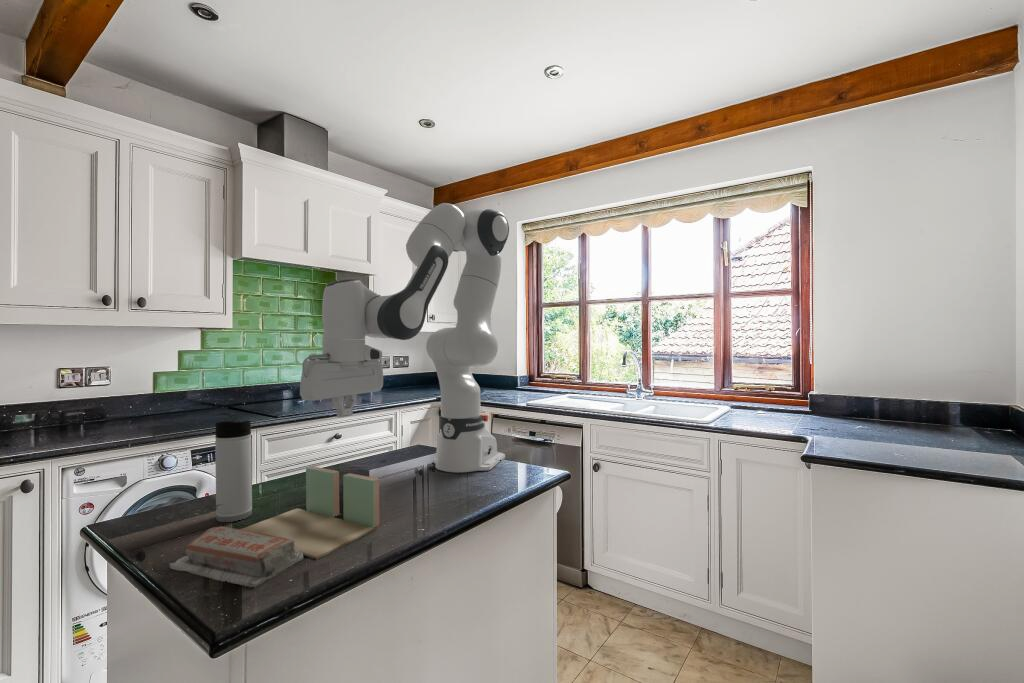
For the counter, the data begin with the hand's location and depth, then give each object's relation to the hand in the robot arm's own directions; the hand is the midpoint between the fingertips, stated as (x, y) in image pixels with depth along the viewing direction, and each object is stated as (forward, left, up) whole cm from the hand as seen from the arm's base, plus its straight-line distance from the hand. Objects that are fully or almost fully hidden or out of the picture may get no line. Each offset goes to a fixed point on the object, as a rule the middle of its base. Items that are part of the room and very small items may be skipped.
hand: (344, 416), depth 102 cm
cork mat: (+14, +5, -19) cm, 24 cm away
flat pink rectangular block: (+6, 0, -19) cm, 20 cm away
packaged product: (+27, +6, -20) cm, 34 cm away
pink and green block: (+6, +11, -19) cm, 23 cm away
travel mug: (+16, -14, -19) cm, 29 cm away
